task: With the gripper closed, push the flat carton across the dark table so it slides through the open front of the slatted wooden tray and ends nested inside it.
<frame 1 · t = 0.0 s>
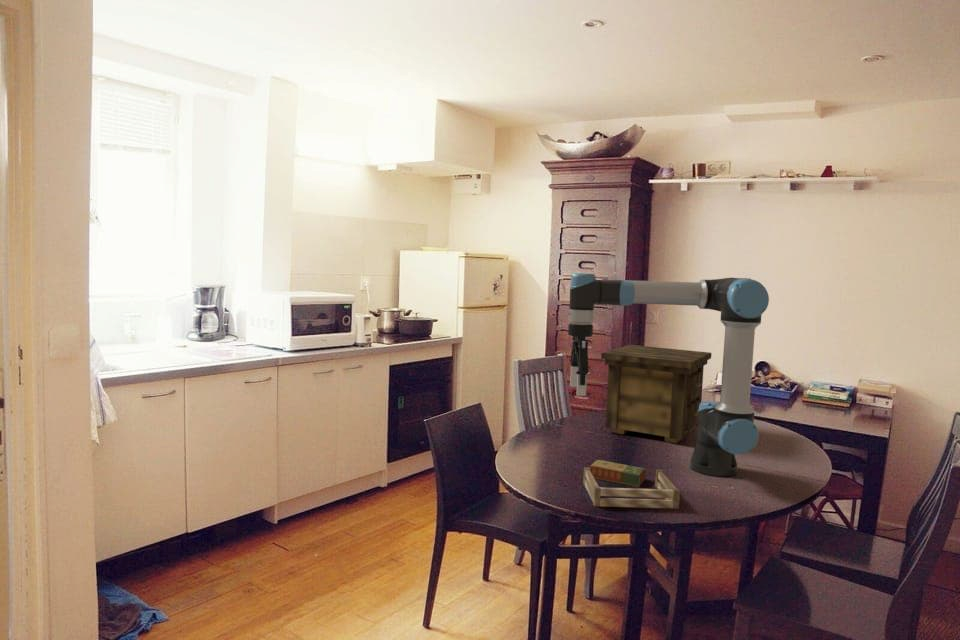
hand: (577, 391, 198), 28 cm above the table, tool pointing down, fingers open, 13 cm apart
crate 2: (653, 431, 262), on the table
slatted wooden tray: (628, 495, 187), on the table
carton: (617, 480, 202), on the table
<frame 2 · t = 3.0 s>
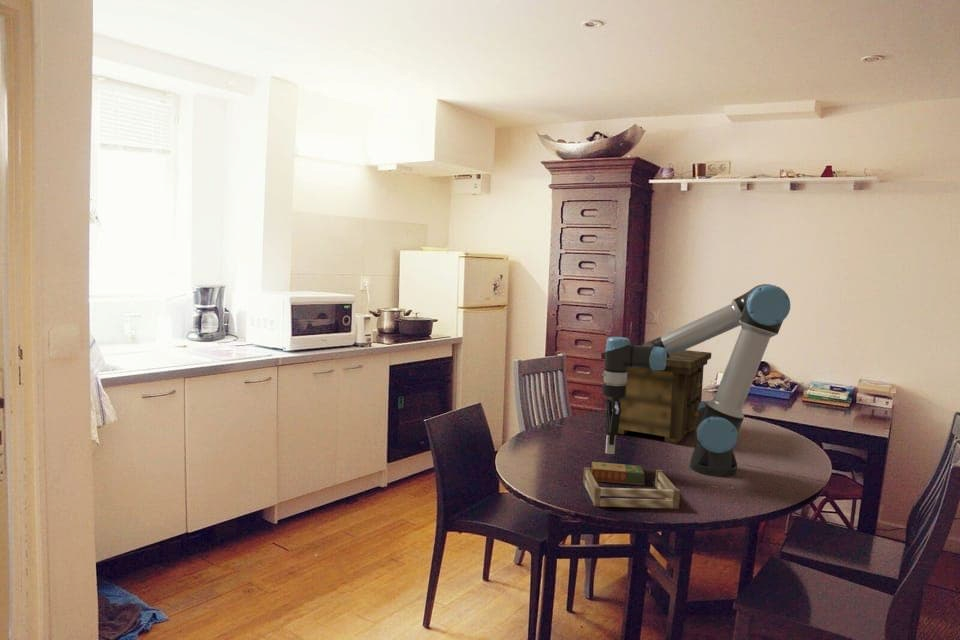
hand: (609, 453, 212), 5 cm above the table, tool pointing down, fingers closed
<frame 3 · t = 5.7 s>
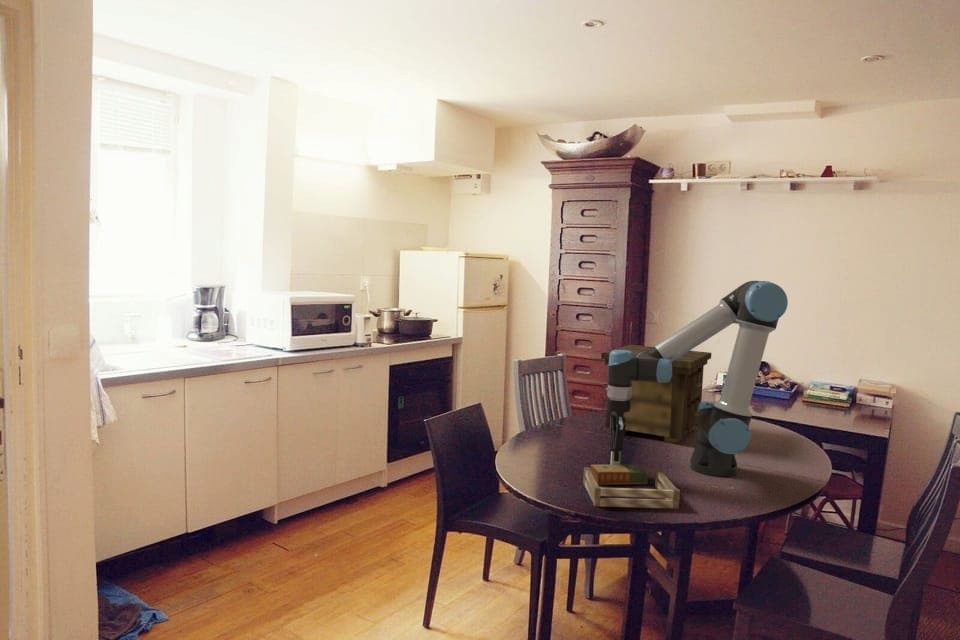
hand: (614, 469, 206), 1 cm above the table, tool pointing down, fingers closed
carton: (617, 481, 201), on the table, touching gripper
everything else where it was.
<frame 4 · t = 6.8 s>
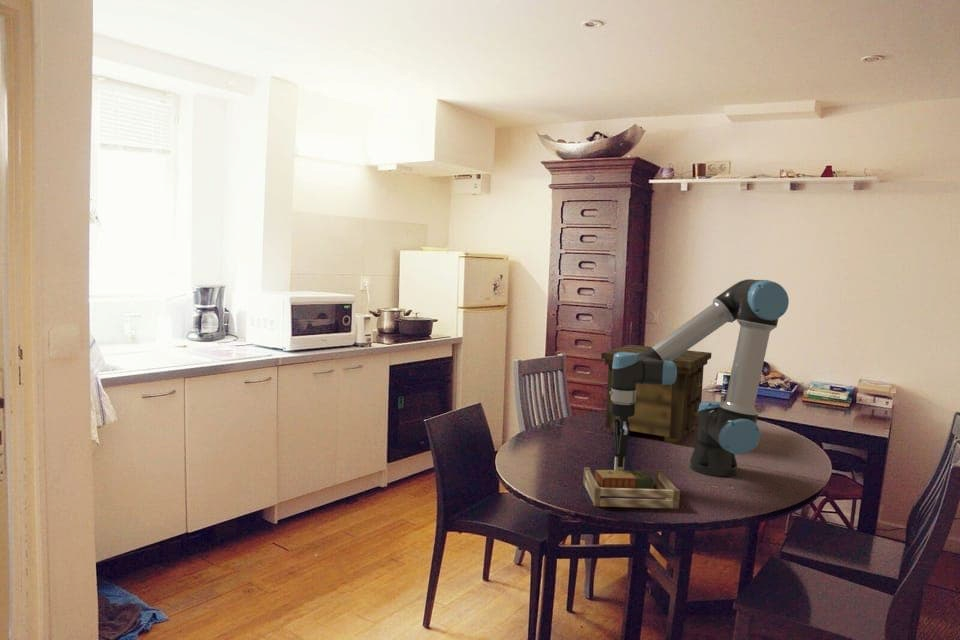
hand: (618, 475, 200), 1 cm above the table, tool pointing down, fingers closed
carton: (623, 487, 195), on the table, touching gripper
everything else where it was.
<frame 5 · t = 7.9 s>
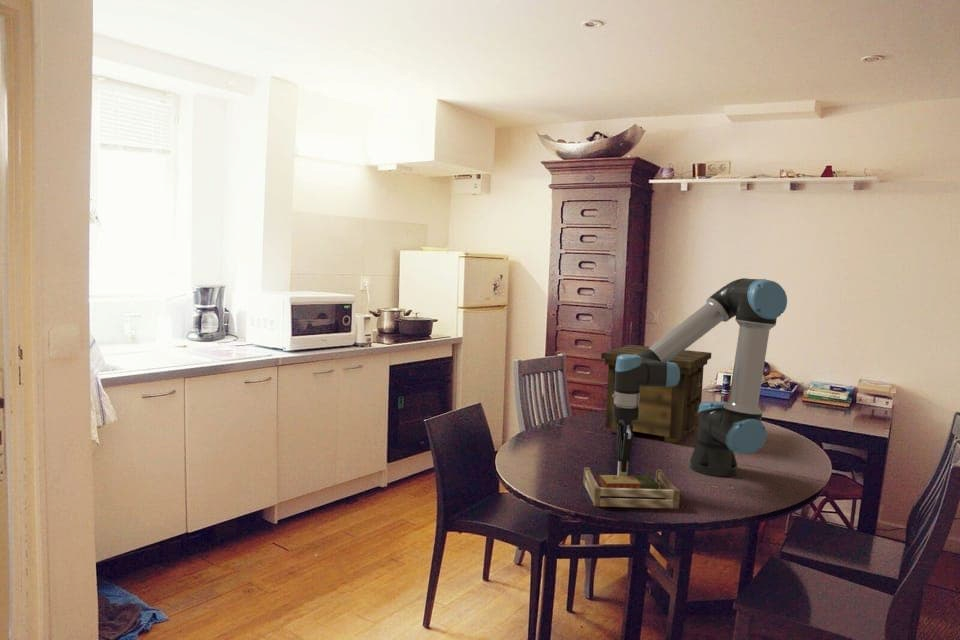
hand: (622, 480, 196), 1 cm above the table, tool pointing down, fingers closed
carton: (628, 493, 191), on the table
everything else where it was.
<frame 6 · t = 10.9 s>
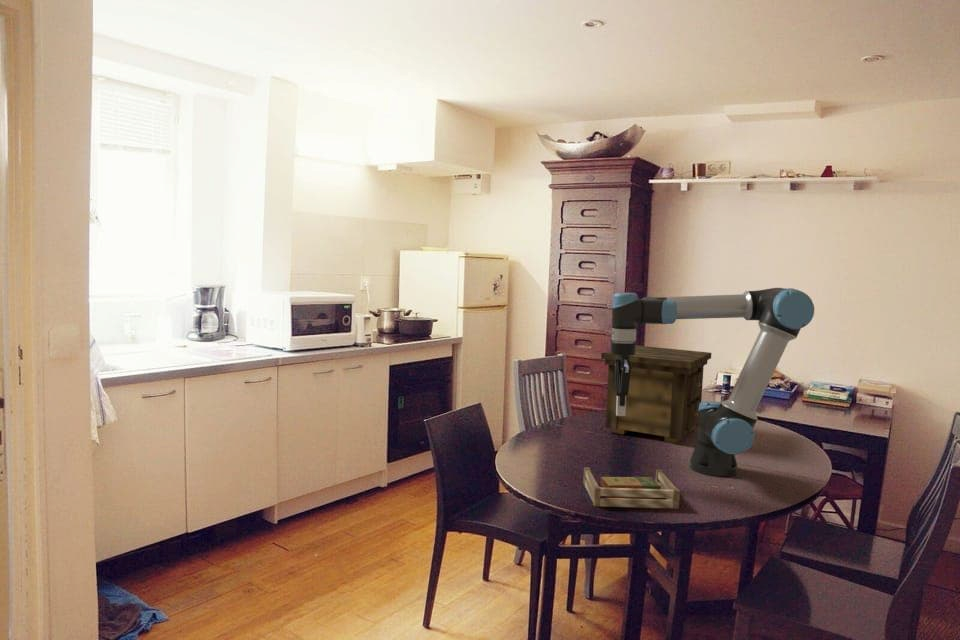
hand: (620, 415, 202), 20 cm above the table, tool pointing down, fingers closed
carton: (629, 495, 189), on the table
everything else where it was.
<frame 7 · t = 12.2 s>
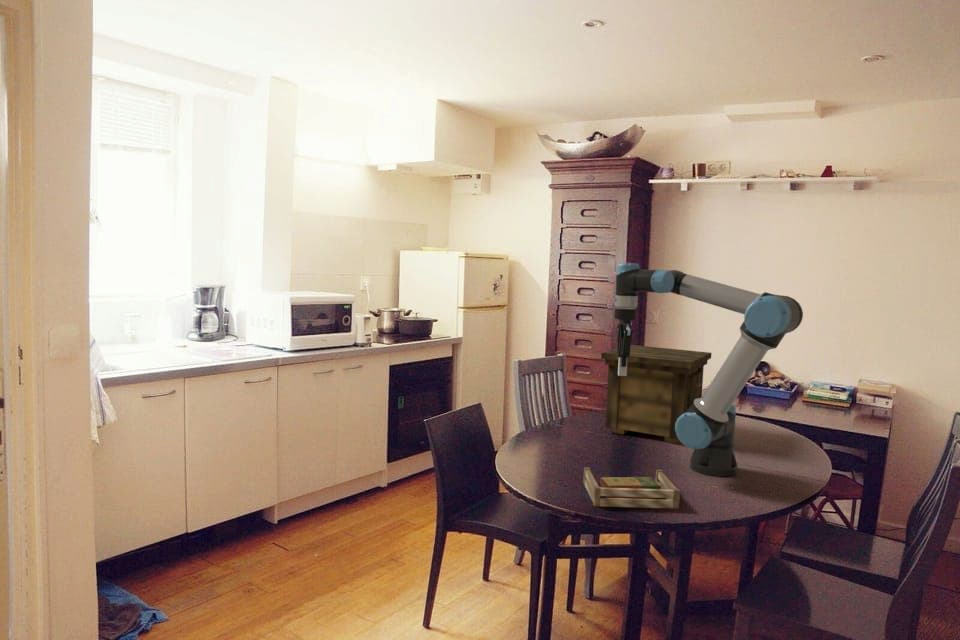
hand: (622, 375, 221), 29 cm above the table, tool pointing down, fingers closed
nothing on the table moved.
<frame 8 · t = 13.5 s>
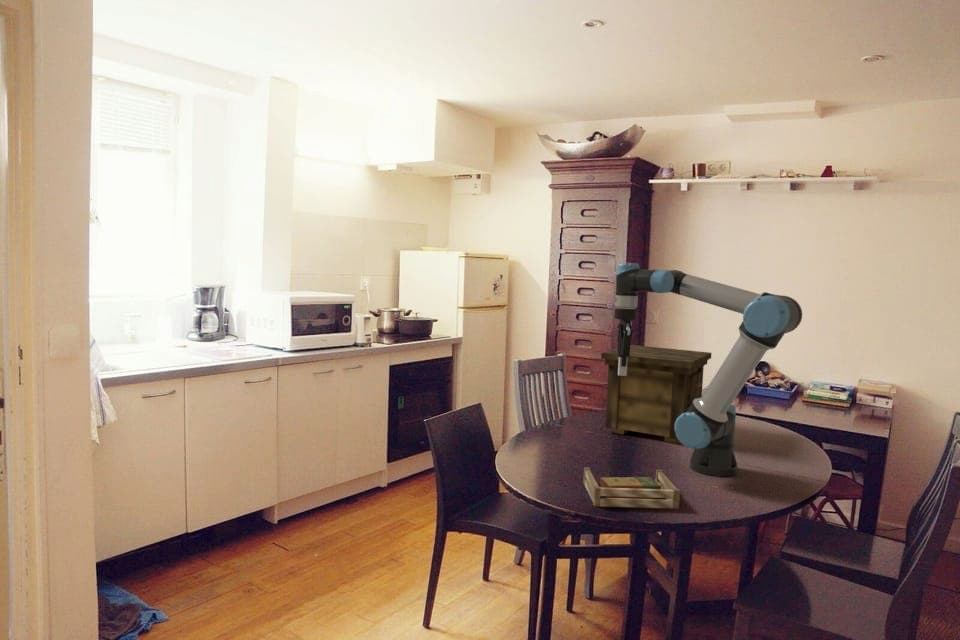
hand: (622, 375, 222), 29 cm above the table, tool pointing down, fingers closed
nothing on the table moved.
at the end: carton inside the target area on the slatted wooden tray (1.4 cm from its centre), point -0.6 cm above the slatted wooden tray's base; carton moved 13.3 cm from its start; the gripper is holding nothing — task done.
